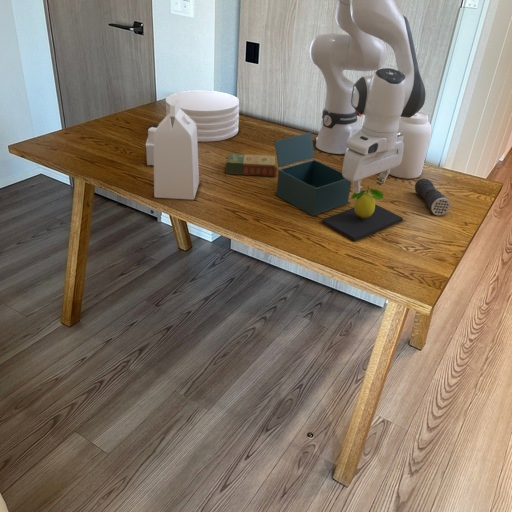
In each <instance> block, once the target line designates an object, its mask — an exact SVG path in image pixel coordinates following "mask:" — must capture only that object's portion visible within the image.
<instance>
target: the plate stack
mask: <svg viewBox="0 0 512 512" xmlns="http://www.w3.org/2000/svg"><path fill="white" fill-rule="evenodd" d="M174 99H176V100H179V106H180V109H181V110H182V111H183V112H184V113H186V114H187V115H188V116H189V117H190V118H191V119H192V120H193V121H194V122H195V124H196V127H197V142H218V141H224V140H228V139H230V138H233V137H235V136H236V135H237V134H238V133H239V122H240V121H239V119H240V100H239V98H238V97H237V96H235V95H232V94H230V93H227V92H223V91H216V90H205V89H194V90H193V89H191V90H190V89H189V90H183V91H177V92H174V93H170V94H168V95H167V96H166V97H165V111H166V112H165V117H166V116H167V115H168V114H169V113H170V104H171V103H172V101H173V100H174Z"/></svg>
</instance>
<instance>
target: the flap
mask: <svg viewBox="0 0 512 512" xmlns="http://www.w3.org/2000/svg"><path fill="white" fill-rule="evenodd" d="M273 143H274V148H275V156H276V162H277V167H278V168H284V167H287V166H291V165H293V164H298V163H302V162H305V161H309V160H312V159H314V158H315V151H314V142H313V135H312V132H311V131H310V132H307V133H303V134H298V135H294V136H290V137H285V138H281V139H276V140H274V142H273Z"/></svg>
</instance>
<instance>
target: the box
mask: <svg viewBox="0 0 512 512" xmlns="http://www.w3.org/2000/svg"><path fill="white" fill-rule="evenodd" d="M351 186H352V182H351V181H348V180H346V179H345V178H344V177H343V176H342V171H340V170H338V169H335V168H334V167H331V166H329V165H328V164H326V163H323V162H320V161H319V160H316V159H310V160H307V161H303V162H299V163H296V164H294V165H293V164H292V165H289V166H285V167H281V168H279V169H278V172H277V185H276V196H277V197H279V198H281V199H282V200H284V201H286V202H287V203H289V204H290V205H293V206H294V207H296V208H298V209H300V210H302V211H303V212H305V213H306V214H308V215H310V216H312V217H313V216H316V215H319V214H322V213H325V212H327V211H330V210H333V209H336V208H338V207H341V206H343V205H347V204H348V203H349V198H350V194H351V193H350V192H351V188H352V187H351Z"/></svg>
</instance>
